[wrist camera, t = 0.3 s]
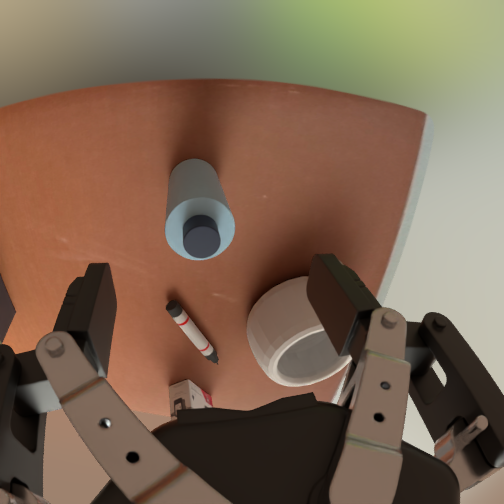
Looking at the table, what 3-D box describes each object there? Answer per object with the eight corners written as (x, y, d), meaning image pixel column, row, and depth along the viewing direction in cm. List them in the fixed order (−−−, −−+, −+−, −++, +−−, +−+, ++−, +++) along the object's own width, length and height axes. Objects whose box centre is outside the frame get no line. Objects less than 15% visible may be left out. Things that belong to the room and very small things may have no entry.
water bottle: (168, 159, 32) (162, 208, 20) (218, 158, 33) (242, 206, 22) (169, 205, 35) (166, 275, 23) (216, 204, 36) (237, 272, 25)
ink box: (212, 396, 57) (221, 447, 47) (192, 404, 57) (199, 454, 47) (188, 377, 52) (195, 434, 42) (167, 386, 52) (171, 441, 43)
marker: (165, 303, 42) (165, 312, 40) (177, 298, 42) (177, 307, 40) (212, 360, 51) (213, 369, 49) (222, 356, 51) (224, 365, 49)
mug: (319, 346, 55) (339, 387, 47) (232, 347, 50) (244, 396, 41) (369, 248, 45) (405, 287, 37) (268, 233, 40) (293, 279, 32)
